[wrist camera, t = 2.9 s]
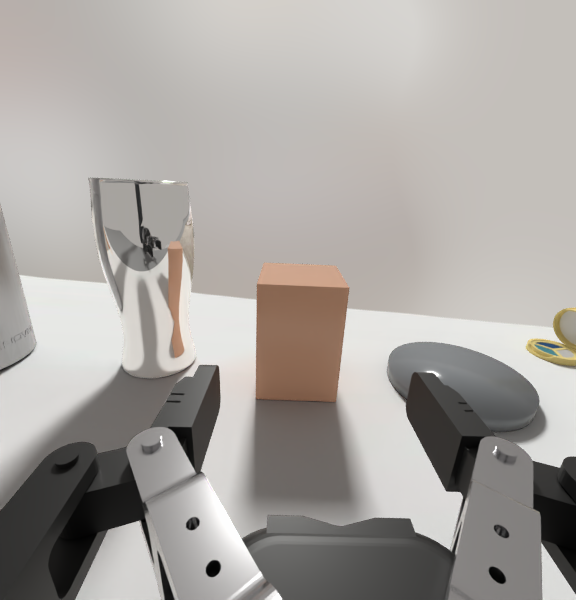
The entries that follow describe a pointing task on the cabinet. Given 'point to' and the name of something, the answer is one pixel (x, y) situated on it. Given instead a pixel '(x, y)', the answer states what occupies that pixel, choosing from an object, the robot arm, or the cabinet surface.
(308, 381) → the peach pillar
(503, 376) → the grey round puck
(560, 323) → the eyeshadow
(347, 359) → the cabinet surface
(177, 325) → the beer glass
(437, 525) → the cabinet surface
